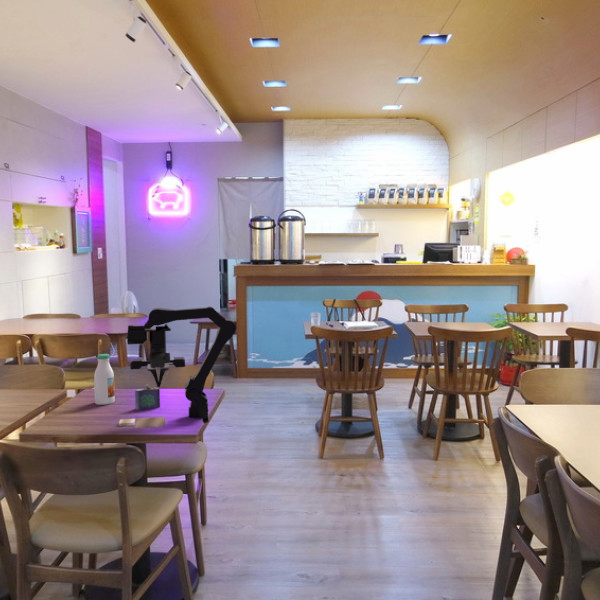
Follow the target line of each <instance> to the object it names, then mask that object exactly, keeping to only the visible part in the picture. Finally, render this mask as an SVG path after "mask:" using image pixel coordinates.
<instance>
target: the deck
mask: <svg viewBox="0 0 600 600" xmlns="http://www.w3.org/2000/svg"><path fill="white" fill-rule="evenodd" d="M165 426H166V416H155V417H154V416H152V417H138V418H136V419H135V423H134V429H143V428H158V427H161V428H162V427H165Z"/></svg>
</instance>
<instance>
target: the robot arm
mask: <svg viewBox="0 0 600 600" xmlns="http://www.w3.org/2000/svg"><path fill="white" fill-rule="evenodd" d="M196 319H197V320H199V319H209V320H210V321H212V322H213V324H215V325H216V326H217V330H216V335H215V337H214V341H213V343H212V344H211V346H210V348H209V349H208V351H207V354H206V355H205V358H204V359H203V361H202V363H201V365H200V366H199V369H198V371H197V372H196V374H195V375H194V376H191V375H189V377H188V380H187V382H186V383H185V384H184V392H185V395H184V396H185V398H186V399H187V401H190V403H189V405H190V406H189V407H188V418H189V419H190V418H191V419H202V422H203V423H204V422H209V402H208V396H207V394H206V393H205V392H204V388H205V385H206V381H207V378H208V376H209V375H210V373H211V371H212V370H213V367H214V366H215V363H216V361H217V360H218V358H219V356H220V354H221V352H222V350H223V349H224V347H225V345H226V344H227V343H228V342H229V341H230V339H231V338H233V336H234V335H235V333H236V331H237V324H235V322H234V320H232V319H230V318H225V317H224V316H222V314H221V313H219V312H218V311H217V310H216V309H215V308H214V306H210V305H209V306H206V307H194V308H184V309H183V308H182V309H171V308H164V307H163V308H162V307H156V308H155V307H154V308H152V309H151V310H150V312H149V314H148V320H147V321H146V322H145V323H144V324H141V325H134V324H133V325H132V324H131V325H129V324H128V326H127V336H126V343H127V346H128V345H130V346H133V345H144V344H145V343H146V342H148V336H149V355H148V359H149V360H143V358H133V359H131V361H130V364H129V366H130V370H140V369H141V368H142V367H147V372H150V373H151V374H152V376H153V378H154V381H155V384H156V386H157V387H156V388H160V387H161V384H162V381H163V377H164V374H165V373H166V371H169V369H170V366H174V367H175V368H185V367H186V358H185V357H184V356H175V357H173V359H171V353H170V352H167V333H166V332H170V331H171V330H172V328H171V327H170V326H169V325H168V324H169V323H171V322H175V321H185V320H186V321H187V320H196ZM161 325H162V326H161ZM154 326H155V328H153V327H154ZM148 334H149V335H148ZM158 368H159V374H158Z"/></svg>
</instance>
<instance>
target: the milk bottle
mask: <svg viewBox="0 0 600 600" xmlns="http://www.w3.org/2000/svg"><path fill="white" fill-rule="evenodd" d="M93 382H94V383H93V384H94V385H93V388H94V390H93V391H94V403H95V405H99V406H101V405H105V406H107V405H111V404H114V403H115V400H116V399H115V398H116V396H115V376H114V370H113V368H112V366H111V364H110V354H109V353H101V354H97V366H96V368H95V371H94V379H93Z"/></svg>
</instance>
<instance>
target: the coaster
mask: <svg viewBox="0 0 600 600" xmlns="http://www.w3.org/2000/svg"><path fill="white" fill-rule="evenodd" d="M135 424H136V418H125V419H124V418H123V419H119V422H118V427H127V426H128V427H129V426H135Z"/></svg>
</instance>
